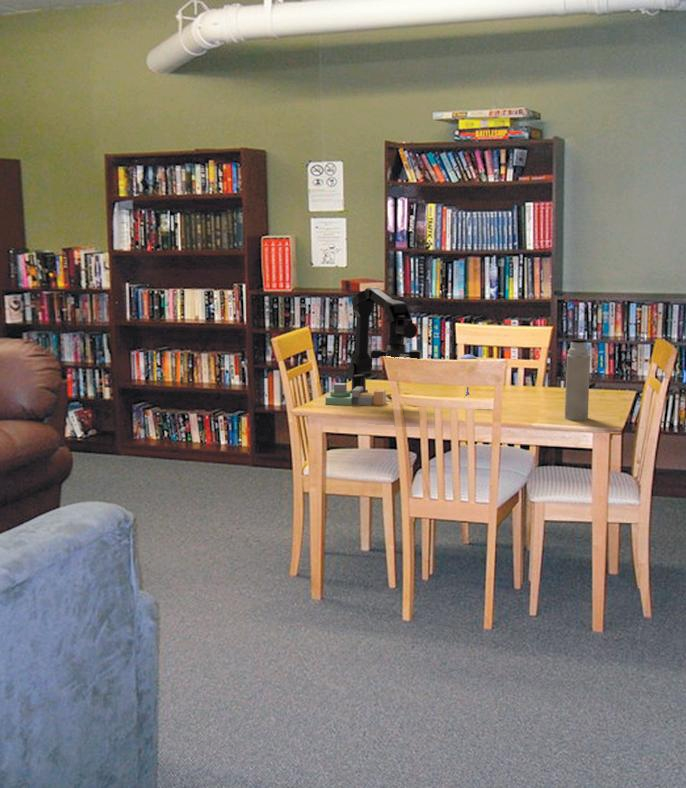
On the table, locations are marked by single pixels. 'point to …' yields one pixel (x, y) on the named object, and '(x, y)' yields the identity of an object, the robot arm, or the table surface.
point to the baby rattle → (468, 356)
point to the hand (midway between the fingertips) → (396, 376)
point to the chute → (376, 396)
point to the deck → (347, 396)
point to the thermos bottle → (577, 381)
